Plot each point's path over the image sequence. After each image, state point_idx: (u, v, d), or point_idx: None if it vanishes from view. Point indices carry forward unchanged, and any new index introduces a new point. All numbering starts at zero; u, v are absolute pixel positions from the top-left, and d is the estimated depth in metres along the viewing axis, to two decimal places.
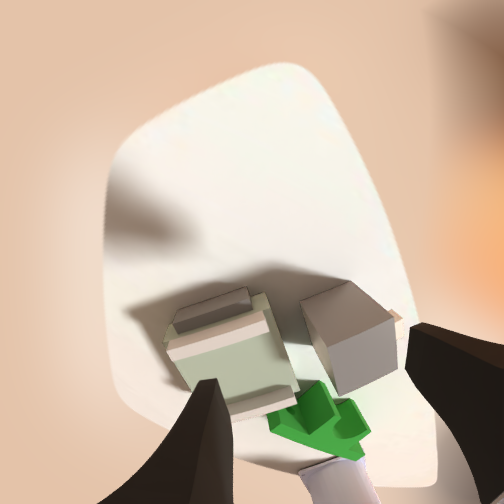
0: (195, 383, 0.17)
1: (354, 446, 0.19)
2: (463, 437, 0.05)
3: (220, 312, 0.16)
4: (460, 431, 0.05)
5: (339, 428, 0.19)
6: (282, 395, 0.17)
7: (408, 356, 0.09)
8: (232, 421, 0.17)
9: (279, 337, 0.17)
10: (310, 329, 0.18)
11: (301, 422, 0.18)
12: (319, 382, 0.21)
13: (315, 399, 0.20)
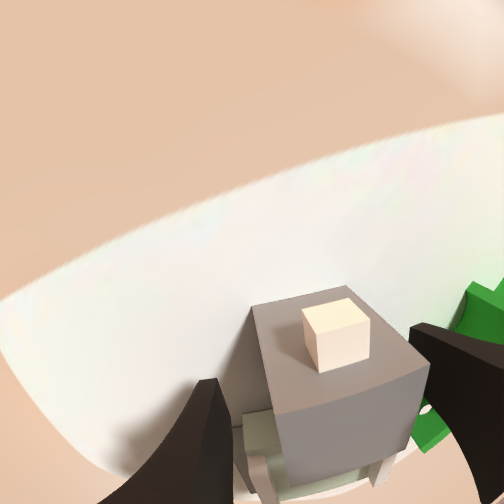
0: (326, 487, 0.12)
1: None
2: (463, 437, 0.05)
3: (245, 472, 0.11)
4: (460, 431, 0.05)
5: None
6: None
7: None
8: (386, 474, 0.10)
9: None
10: None
11: None
12: None
13: None
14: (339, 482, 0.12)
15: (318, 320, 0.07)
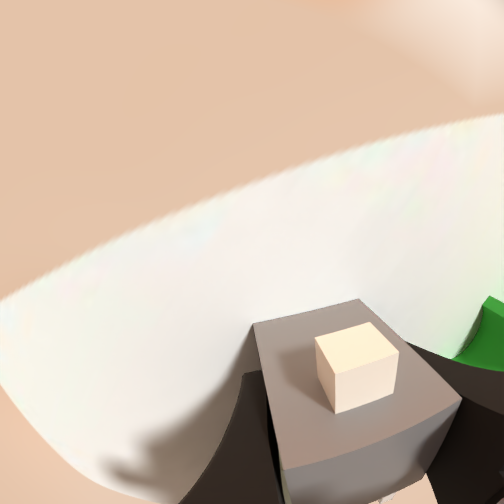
0: None
1: None
2: None
3: None
4: None
5: None
6: None
7: None
8: None
9: None
10: None
11: None
12: None
13: None
14: None
15: (336, 353, 0.05)
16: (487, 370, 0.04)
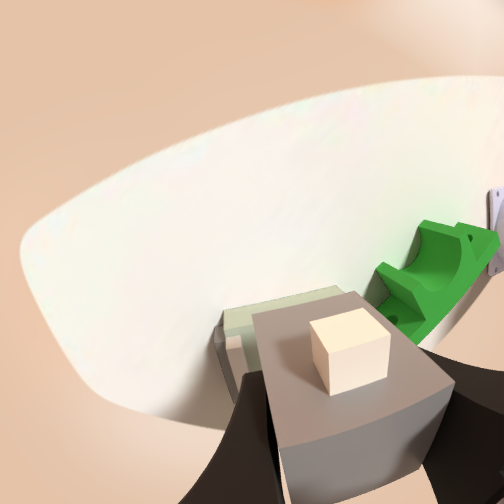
0: None
1: (480, 243, 0.14)
2: (427, 459, 0.05)
3: (226, 367, 0.16)
4: None
5: (444, 265, 0.14)
6: None
7: None
8: None
9: None
10: None
11: (410, 317, 0.15)
12: (377, 270, 0.17)
13: (393, 286, 0.16)
14: None
15: (330, 335, 0.06)
16: (487, 370, 0.04)
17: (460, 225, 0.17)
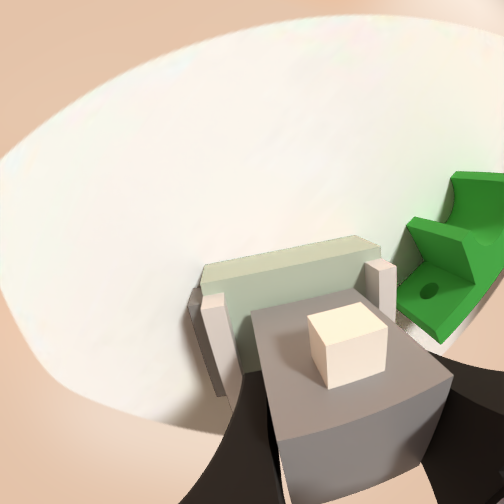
0: None
1: None
2: (427, 459, 0.05)
3: (205, 344, 0.11)
4: None
5: (487, 219, 0.10)
6: (373, 285, 0.10)
7: None
8: None
9: (259, 274, 0.10)
10: None
11: (453, 283, 0.11)
12: (409, 226, 0.13)
13: (430, 244, 0.12)
14: None
15: (327, 328, 0.06)
16: (487, 370, 0.04)
17: None
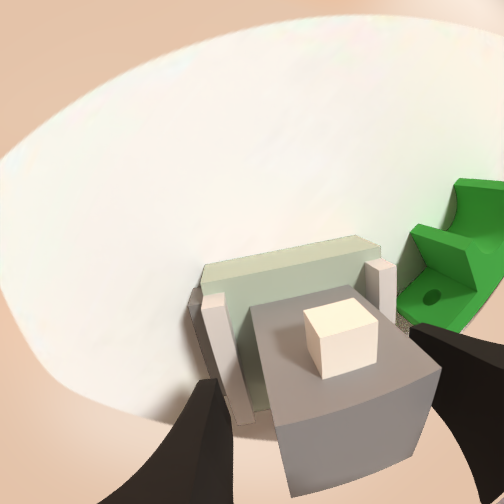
0: None
1: None
2: (463, 437, 0.05)
3: (205, 344, 0.11)
4: (460, 431, 0.05)
5: (489, 227, 0.10)
6: (373, 285, 0.10)
7: None
8: None
9: (259, 274, 0.10)
10: None
11: (456, 290, 0.11)
12: (412, 233, 0.13)
13: (433, 252, 0.12)
14: None
15: (322, 322, 0.06)
16: None
17: None
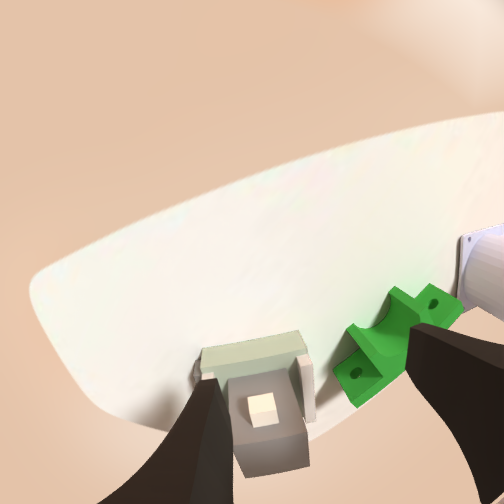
0: None
1: (443, 310, 0.17)
2: (463, 437, 0.05)
3: None
4: (460, 431, 0.05)
5: (405, 331, 0.18)
6: (299, 371, 0.17)
7: (408, 356, 0.09)
8: (313, 410, 0.18)
9: (232, 364, 0.17)
10: None
11: (371, 372, 0.18)
12: None
13: None
14: None
15: (253, 406, 0.13)
16: None
17: (430, 287, 0.20)
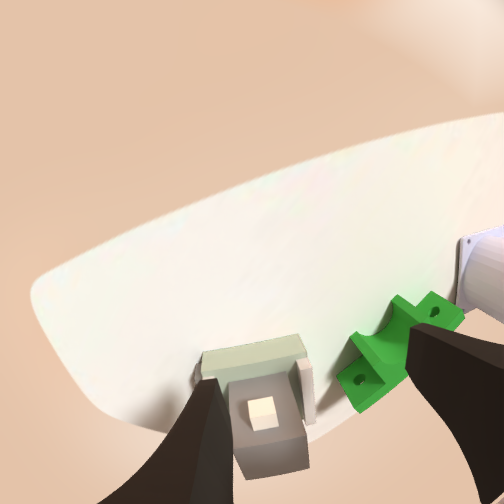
0: None
1: (444, 318, 0.17)
2: (463, 437, 0.05)
3: None
4: (460, 431, 0.05)
5: (407, 339, 0.18)
6: (299, 374, 0.17)
7: (408, 356, 0.09)
8: (313, 412, 0.18)
9: (233, 367, 0.17)
10: None
11: (374, 378, 0.18)
12: (351, 338, 0.20)
13: None
14: None
15: (253, 409, 0.13)
16: None
17: (432, 294, 0.20)
